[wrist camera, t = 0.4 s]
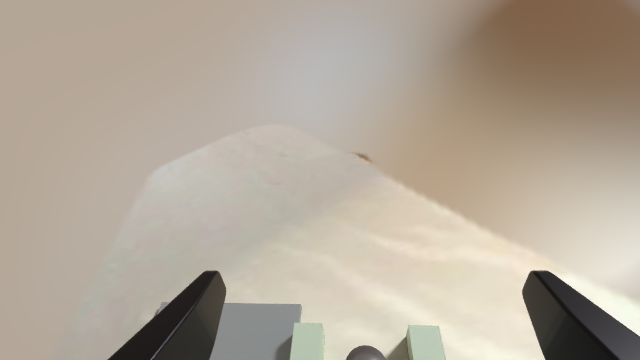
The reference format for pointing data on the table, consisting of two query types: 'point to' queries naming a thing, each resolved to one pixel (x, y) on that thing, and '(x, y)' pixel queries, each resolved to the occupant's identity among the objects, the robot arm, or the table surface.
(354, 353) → the grey metal rod
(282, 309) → the mat
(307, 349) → the c link
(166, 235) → the table surface
